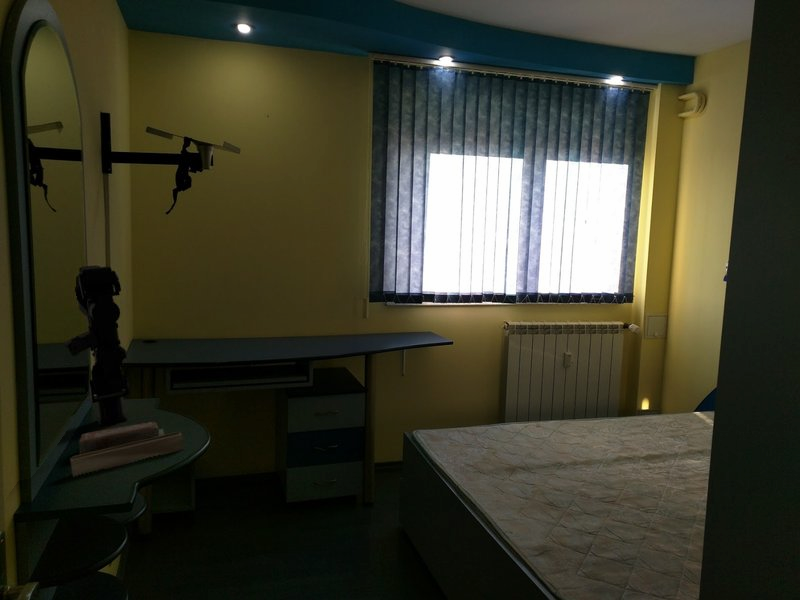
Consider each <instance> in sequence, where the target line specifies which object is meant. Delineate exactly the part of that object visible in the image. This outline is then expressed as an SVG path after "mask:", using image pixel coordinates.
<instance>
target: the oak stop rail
mask: <svg viewBox="0 0 800 600" xmlns="http://www.w3.org/2000/svg"><path fill="white" fill-rule="evenodd" d="M164 434H165V433H164ZM183 439H184V438H183V434H182V433H181V432H180V431H175V432H174V431H173V432H170V433H166V434H165V435H161V436H157V437H153V438H148V439H144V440H140V441H136V442H131V443H127V444H123V445H119V446H114V447H110V448H106V449H102V450H97V451H93V452H89V453H85V454H80V453H79V454H77V455H73V456H72V457H69V458H70V466H71V473H72V477H73V478H75V476H76V477H79V476H78V475H80V476H82V475H81V474H84V475H86V474H85V473H88V474H90V473H89V472H92V473H94V472H93V471H96V472H99V471H98V470H100V471H102V470H101V469H104V470H107V469H111V468H115V467H119V466H123V465H128V464H131V463H135V461H136V462H139V461H138V460H140V461H142V459H144V460H146V459H145V458H148V457H152V458H154V457H153V456H156V457H158V455H160V456H163V455H167V454H171V453H175V452H179V451H182V450H183V451H184V450H185V448H184V447H185V446H184V440H183ZM148 459H149V458H148Z"/></svg>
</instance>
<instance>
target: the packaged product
mask: <svg viewBox="0 0 800 600" xmlns="http://www.w3.org/2000/svg"><path fill="white" fill-rule="evenodd" d="M161 435H165V431H164V429H163V428H159V427H158V423H156V422H155V421H149V422H144V423H137V424H133V425H132V424H131V425H127V426H125V425H124V426H119V427H115V428H108V429H104V430H96V431H91V432H86V433H82V434H81V435H80V438H79V440H78V448H79V455H80V454H85V453H89V452H93V451H97V450H102V449H106V448H110V447H114V446H119V445H123V444H127V443H131V442H136V441H140V440H144V439H148V438H153V437H157V436H161Z"/></svg>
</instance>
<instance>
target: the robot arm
mask: <svg viewBox="0 0 800 600" xmlns="http://www.w3.org/2000/svg"><path fill="white" fill-rule="evenodd" d="M77 274H78V275H77V276H75V278H76V287H75V292H76V296H77V300H78V302H77V305H79V306H78V309H79V311H80V312H81V313H82V314H83V315H84V316H86V319H87V324H88V326H87V327H88V330H87V331H85V332H83V333H80V334H79V335H76V336H74V337H71V338H70V339H68V340H66V341H65V342H64V345H65V347H66V349H67V351H68V352H69V354H70V355H71V356H72V357H75V356H78V355H79V354H81V352H84V351H86V350H88V349H89V350H90V352H92V354H91V355H92V356H93V358H94V364H93V366H92V369H91V370H90V379H88V385H89V386H88V388H89V389H88V390H89V395H90V400H91V403H92V404H95V403H97V408H98V409H97V410H98V417H96V419H97V422H98V425H99V426H100V427H104V426H107V425H112V424H116V423H117V424H118V423H121V422H126V421H128V418H127V416H126V414H125V412H124V406H123V398H125V397H126V398H128V395H130V385H129V384H130V383H129V382H130V381H129V378H128V377H127V376H126V374H125V373H123V371H122V370H123V369H122V364H123V362H124V360H125V359H127V350H126V349H125V347H123V346H122V345H121V344H122V343H121V339H120V338H119V330H118V329H119V323H118V322H117V321H119V318H120V316H121V309H120V307H119V305H118V304H117V303H115V299H114V297H116V296H121V295H120V294H121V293H120V292H122V286H121V283H120V278H119V275H118V274H117V273H116V271H115V270H112V267H111V266H109V265H108V266H101V265H86V266H81V267H78V273H77Z"/></svg>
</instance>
